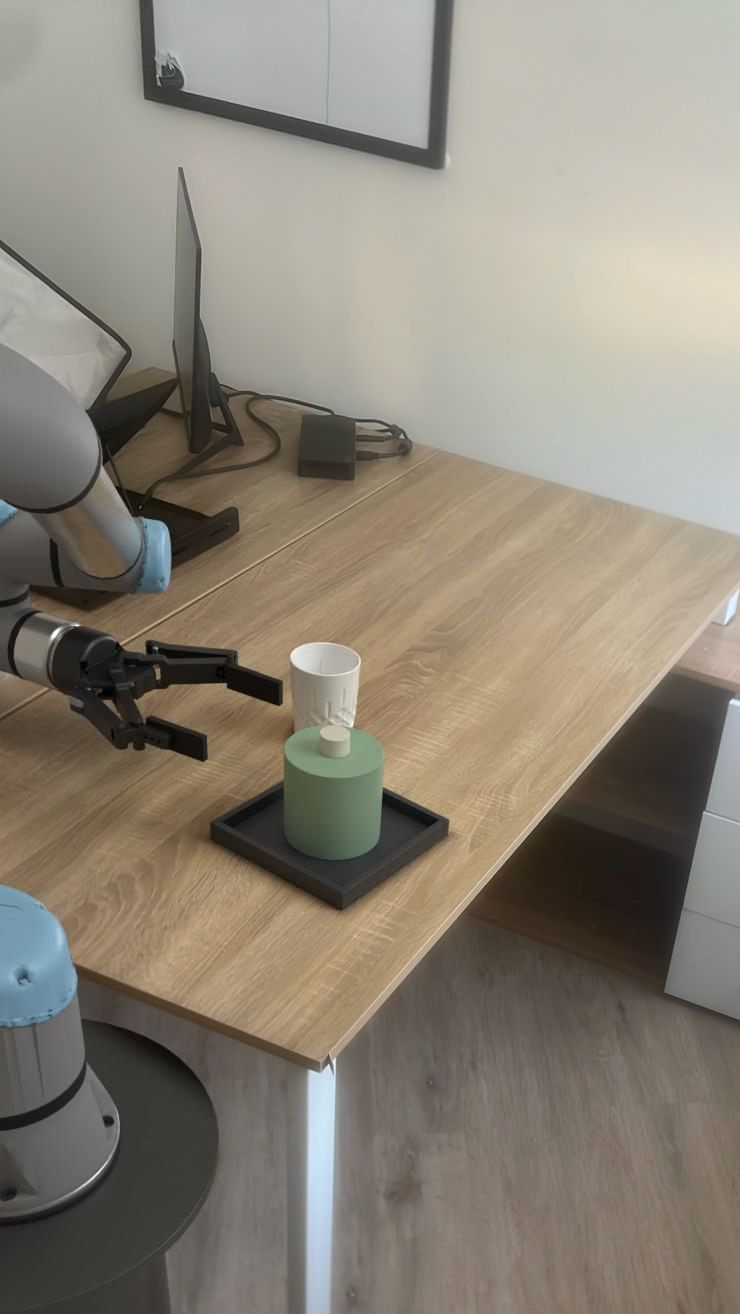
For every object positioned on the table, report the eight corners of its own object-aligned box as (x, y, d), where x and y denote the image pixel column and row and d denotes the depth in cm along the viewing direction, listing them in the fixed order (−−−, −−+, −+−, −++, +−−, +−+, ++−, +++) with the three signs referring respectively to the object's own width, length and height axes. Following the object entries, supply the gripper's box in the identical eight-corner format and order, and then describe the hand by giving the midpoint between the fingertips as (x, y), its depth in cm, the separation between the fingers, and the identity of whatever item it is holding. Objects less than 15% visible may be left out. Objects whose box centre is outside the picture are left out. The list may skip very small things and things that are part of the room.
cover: (337, 872, 129) (341, 771, 121) (263, 832, 132) (262, 732, 125) (399, 831, 136) (405, 733, 128) (326, 794, 139) (329, 697, 131)
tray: (342, 910, 125) (342, 893, 124) (210, 838, 131) (209, 821, 130) (448, 835, 137) (449, 819, 136) (322, 773, 143) (323, 757, 142)
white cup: (312, 759, 145) (313, 681, 139) (276, 727, 149) (276, 650, 143) (370, 743, 149) (374, 666, 143) (334, 712, 154) (336, 636, 147)
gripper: (148, 648, 145) (308, 703, 141) (-7, 740, 127) (172, 807, 122) (143, 586, 141) (309, 641, 136) (-19, 672, 122) (167, 739, 117)
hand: (244, 720), depth 129 cm, fingers open, 13 cm apart
